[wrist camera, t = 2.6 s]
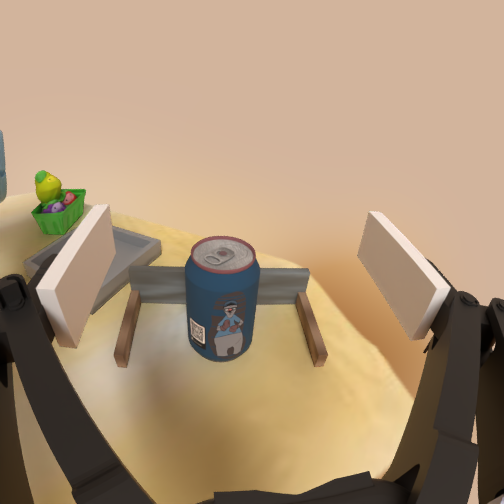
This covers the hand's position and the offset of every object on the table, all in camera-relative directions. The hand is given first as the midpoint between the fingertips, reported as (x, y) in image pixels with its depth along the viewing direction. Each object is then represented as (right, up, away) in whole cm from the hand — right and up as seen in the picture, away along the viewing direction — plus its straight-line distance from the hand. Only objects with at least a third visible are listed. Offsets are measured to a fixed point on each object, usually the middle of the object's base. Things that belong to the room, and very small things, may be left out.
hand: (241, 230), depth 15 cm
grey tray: (-24, -3, +28) cm, 37 cm away
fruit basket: (-37, +4, +39) cm, 54 cm away
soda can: (-3, -11, +19) cm, 22 cm away
